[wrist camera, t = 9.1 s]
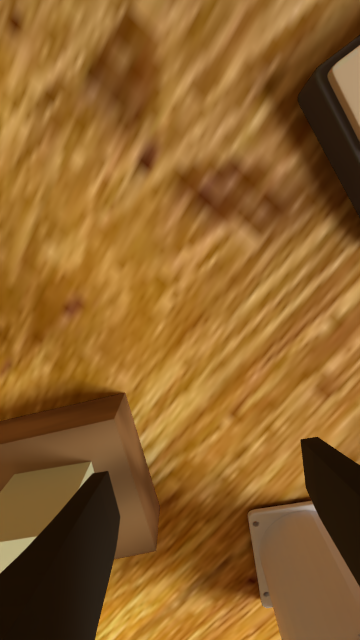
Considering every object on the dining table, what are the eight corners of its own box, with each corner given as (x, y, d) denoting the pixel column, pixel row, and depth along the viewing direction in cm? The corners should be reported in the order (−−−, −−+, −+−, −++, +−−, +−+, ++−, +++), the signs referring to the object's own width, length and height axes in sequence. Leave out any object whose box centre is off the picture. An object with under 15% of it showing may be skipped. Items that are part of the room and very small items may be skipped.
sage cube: (109, 528, 19) (85, 618, 15) (36, 539, 20) (-13, 631, 15) (91, 461, 19) (58, 532, 14) (14, 474, 19) (-46, 549, 14)
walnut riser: (160, 502, 24) (156, 551, 20) (42, 527, 24) (15, 578, 20) (126, 390, 22) (114, 419, 18) (-2, 419, 22) (-41, 453, 18)
